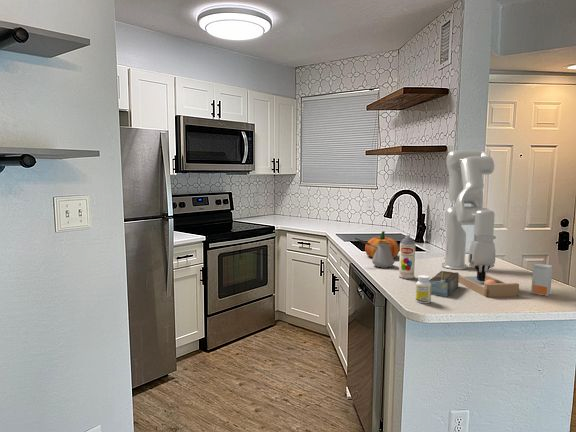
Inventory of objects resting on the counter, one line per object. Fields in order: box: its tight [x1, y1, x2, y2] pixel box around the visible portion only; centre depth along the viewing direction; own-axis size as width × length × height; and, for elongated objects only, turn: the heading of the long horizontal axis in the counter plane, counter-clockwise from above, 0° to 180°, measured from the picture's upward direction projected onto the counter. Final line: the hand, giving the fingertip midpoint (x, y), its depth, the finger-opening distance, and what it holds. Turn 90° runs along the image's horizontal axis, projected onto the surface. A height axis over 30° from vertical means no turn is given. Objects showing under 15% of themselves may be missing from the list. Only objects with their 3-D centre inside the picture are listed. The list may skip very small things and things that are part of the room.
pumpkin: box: [364, 231, 400, 259], centre depth 237 cm, size 19×19×15 cm
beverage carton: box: [429, 270, 460, 298], centre depth 172 cm, size 8×19×7 cm, turn 145°
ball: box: [484, 279, 496, 287], centre depth 170 cm, size 5×5×5 cm
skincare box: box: [530, 263, 553, 297], centre depth 167 cm, size 6×4×12 cm
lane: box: [458, 274, 520, 298], centre depth 176 cm, size 27×13×5 cm, turn 5°
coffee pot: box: [353, 237, 395, 269], centre depth 214 cm, size 21×12×15 cm, turn 88°
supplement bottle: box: [415, 274, 432, 304], centre depth 156 cm, size 5×5×10 cm
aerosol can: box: [398, 234, 416, 280], centre depth 191 cm, size 7×7×20 cm
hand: (480, 280), depth 178 cm, fingers closed
